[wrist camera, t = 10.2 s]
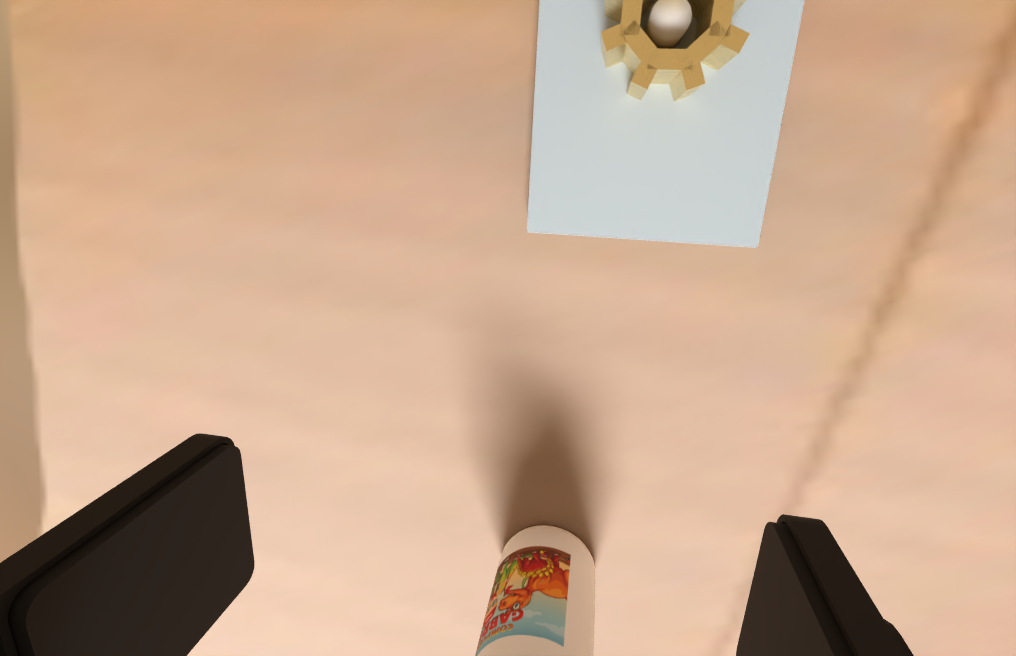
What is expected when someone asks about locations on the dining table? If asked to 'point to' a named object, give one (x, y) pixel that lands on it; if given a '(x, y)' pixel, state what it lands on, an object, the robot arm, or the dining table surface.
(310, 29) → the dining table surface
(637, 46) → the brass gear
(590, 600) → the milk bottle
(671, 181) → the board
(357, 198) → the dining table surface
